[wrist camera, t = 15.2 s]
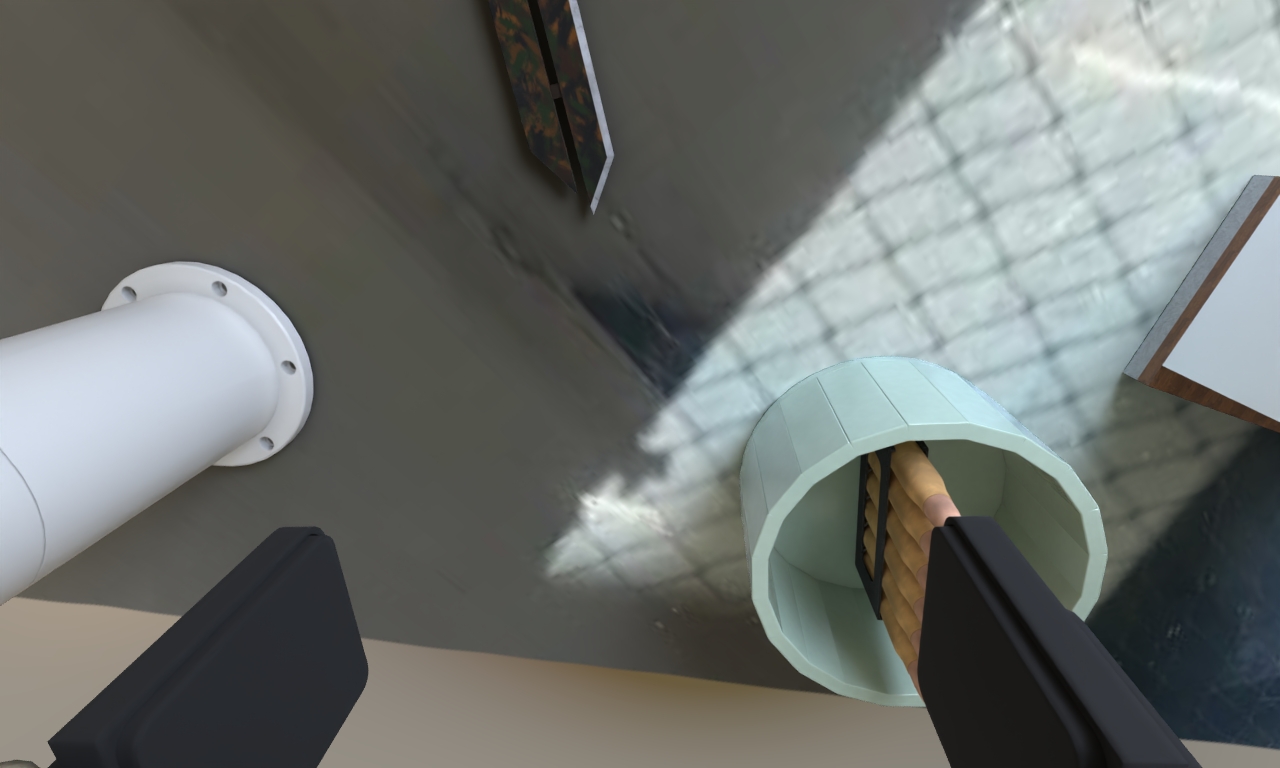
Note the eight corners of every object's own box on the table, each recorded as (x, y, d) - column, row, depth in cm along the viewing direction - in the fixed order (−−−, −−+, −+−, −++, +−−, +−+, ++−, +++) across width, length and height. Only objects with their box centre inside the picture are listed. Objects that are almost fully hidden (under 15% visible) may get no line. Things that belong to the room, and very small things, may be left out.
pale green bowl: (741, 590, 41) (753, 705, 33) (736, 361, 36) (749, 429, 28) (995, 589, 40) (1075, 708, 31) (1030, 349, 34) (1138, 416, 26)
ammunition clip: (863, 403, 35) (941, 525, 24) (898, 402, 35) (993, 524, 24) (854, 565, 39) (918, 736, 28) (886, 565, 39) (963, 737, 28)
